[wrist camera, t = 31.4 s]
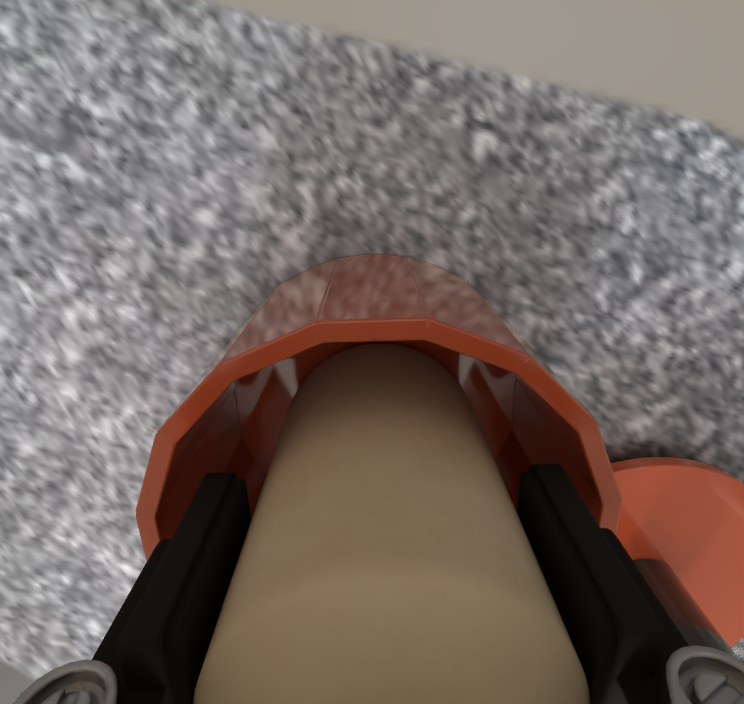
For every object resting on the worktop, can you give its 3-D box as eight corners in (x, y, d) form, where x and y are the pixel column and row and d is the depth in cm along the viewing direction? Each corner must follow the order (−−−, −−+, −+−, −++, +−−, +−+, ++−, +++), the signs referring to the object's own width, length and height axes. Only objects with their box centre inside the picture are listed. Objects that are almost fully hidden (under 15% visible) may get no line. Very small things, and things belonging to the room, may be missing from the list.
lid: (795, 441, 17) (991, 569, 11) (728, 657, 20) (854, 830, 15) (494, 450, 17) (552, 581, 11) (480, 664, 20) (520, 839, 15)
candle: (250, 426, 15) (45, 869, 6) (381, 300, 14) (407, 601, 4) (378, 532, 16) (389, 1028, 7) (509, 427, 15) (745, 869, 6)
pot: (534, 248, 14) (657, 311, 8) (511, 516, 18) (586, 702, 12) (208, 258, 14) (89, 327, 8) (246, 523, 18) (181, 712, 12)
